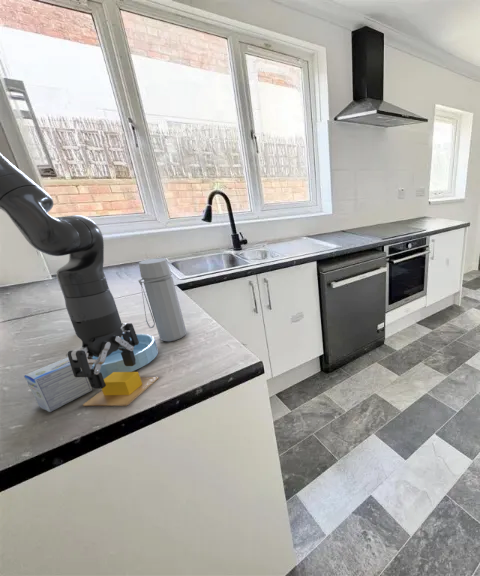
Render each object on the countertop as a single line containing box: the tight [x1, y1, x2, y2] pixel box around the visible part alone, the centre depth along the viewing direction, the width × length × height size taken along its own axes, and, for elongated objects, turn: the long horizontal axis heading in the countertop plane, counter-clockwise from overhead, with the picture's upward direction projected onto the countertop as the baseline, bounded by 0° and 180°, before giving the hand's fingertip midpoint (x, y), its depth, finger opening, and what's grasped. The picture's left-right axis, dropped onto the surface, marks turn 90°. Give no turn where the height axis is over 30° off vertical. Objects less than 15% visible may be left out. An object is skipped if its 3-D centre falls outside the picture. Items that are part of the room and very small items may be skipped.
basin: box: [92, 333, 159, 379], centre depth 84 cm, size 16×16×5 cm
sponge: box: [101, 371, 142, 395], centre depth 72 cm, size 6×4×4 cm, turn 90°
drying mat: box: [82, 376, 160, 407], centre depth 73 cm, size 10×10×1 cm
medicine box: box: [24, 356, 93, 413], centre depth 69 cm, size 8×4×9 cm, turn 159°
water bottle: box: [137, 257, 187, 342], centre depth 93 cm, size 9×8×25 cm
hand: (116, 375), depth 71 cm, fingers open, 8 cm apart
